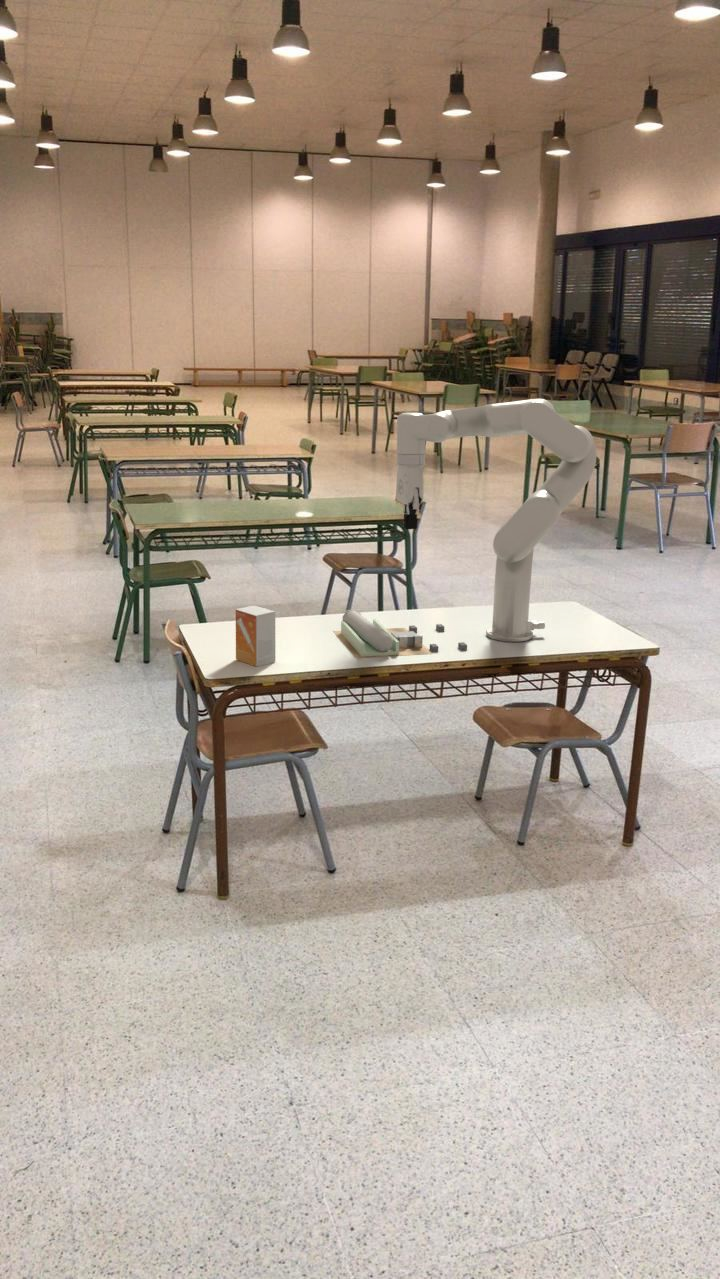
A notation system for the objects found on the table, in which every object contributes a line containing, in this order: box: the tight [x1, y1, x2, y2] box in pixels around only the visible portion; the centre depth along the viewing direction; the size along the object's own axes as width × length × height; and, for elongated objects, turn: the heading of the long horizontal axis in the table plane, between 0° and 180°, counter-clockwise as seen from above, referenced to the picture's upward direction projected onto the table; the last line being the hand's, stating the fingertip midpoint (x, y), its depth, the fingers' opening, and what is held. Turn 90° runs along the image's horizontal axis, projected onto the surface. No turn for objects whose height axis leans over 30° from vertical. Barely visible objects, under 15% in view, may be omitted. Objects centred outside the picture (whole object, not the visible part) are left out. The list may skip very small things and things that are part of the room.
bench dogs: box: [398, 634, 424, 649], centre depth 277 cm, size 6×2×3 cm, turn 105°
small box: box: [235, 605, 276, 668], centre depth 266 cm, size 8×6×13 cm
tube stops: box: [408, 623, 468, 653], centre depth 285 cm, size 9×20×2 cm, turn 14°
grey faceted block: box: [391, 630, 418, 646], centre depth 280 cm, size 6×5×2 cm
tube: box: [342, 609, 392, 652], centre depth 279 cm, size 5×5×25 cm
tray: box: [340, 619, 399, 657], centre depth 280 cm, size 10×22×3 cm, turn 14°
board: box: [332, 627, 434, 659], centre depth 282 cm, size 20×25×1 cm
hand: (410, 528), depth 293 cm, fingers closed
